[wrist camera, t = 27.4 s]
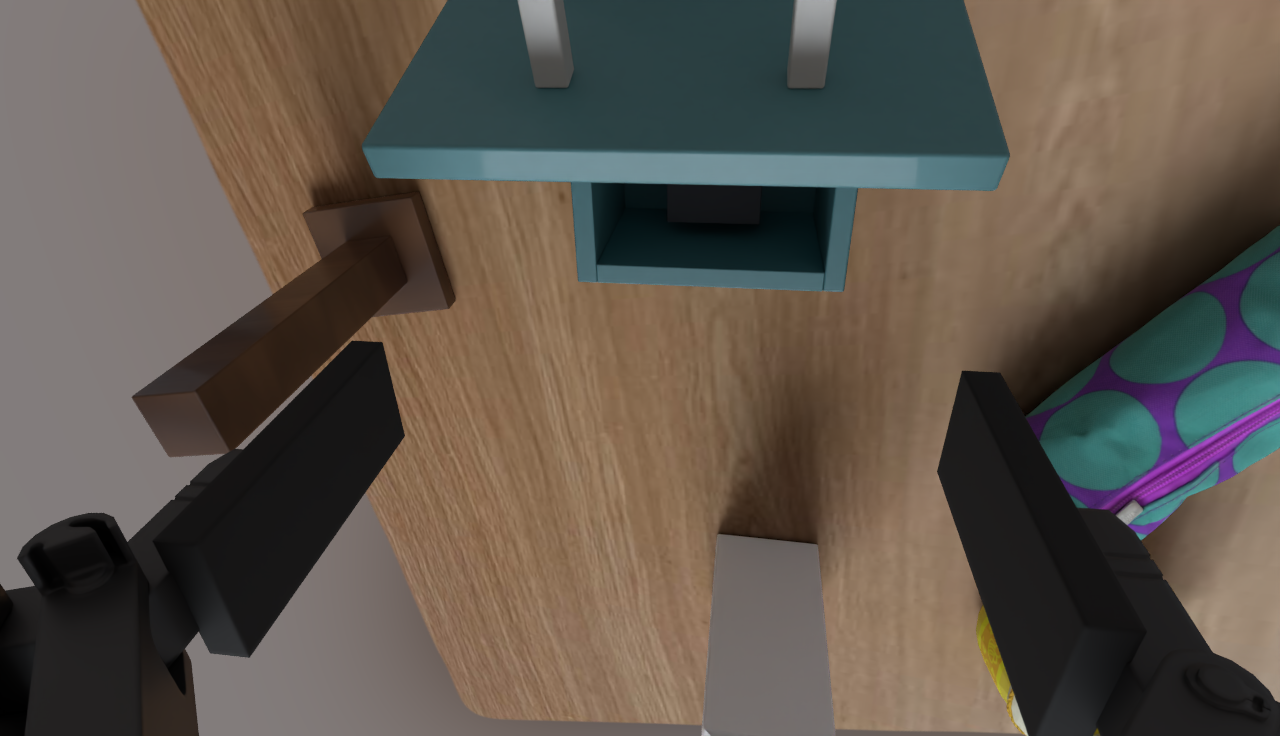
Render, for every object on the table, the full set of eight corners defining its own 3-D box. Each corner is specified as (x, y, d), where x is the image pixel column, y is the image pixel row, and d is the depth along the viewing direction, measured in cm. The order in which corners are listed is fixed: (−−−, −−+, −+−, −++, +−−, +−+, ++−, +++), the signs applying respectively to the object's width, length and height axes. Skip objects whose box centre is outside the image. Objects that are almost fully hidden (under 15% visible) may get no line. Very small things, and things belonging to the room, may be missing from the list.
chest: (827, 223, 38) (843, 292, 31) (612, 217, 40) (577, 281, 32) (869, -135, 30) (906, -160, 23) (597, -124, 32) (546, -144, 24)
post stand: (312, 206, 42) (59, 356, 27) (419, 191, 41) (214, 340, 25) (356, 311, 46) (152, 497, 30) (456, 300, 44) (295, 490, 29)
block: (676, 194, 38) (666, 222, 34) (676, 108, 35) (666, 127, 32) (759, 196, 37) (759, 225, 33) (765, 108, 35) (766, 128, 31)
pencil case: (1051, 504, 45) (1114, 627, 37) (949, 431, 44) (992, 543, 36) (1406, 264, 35) (1601, 361, 27) (1290, 157, 33) (1460, 226, 25)
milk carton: (818, 541, 50) (845, 828, 34) (806, 610, 54) (824, 898, 37) (717, 531, 51) (696, 805, 35) (711, 599, 54) (690, 875, 38)
